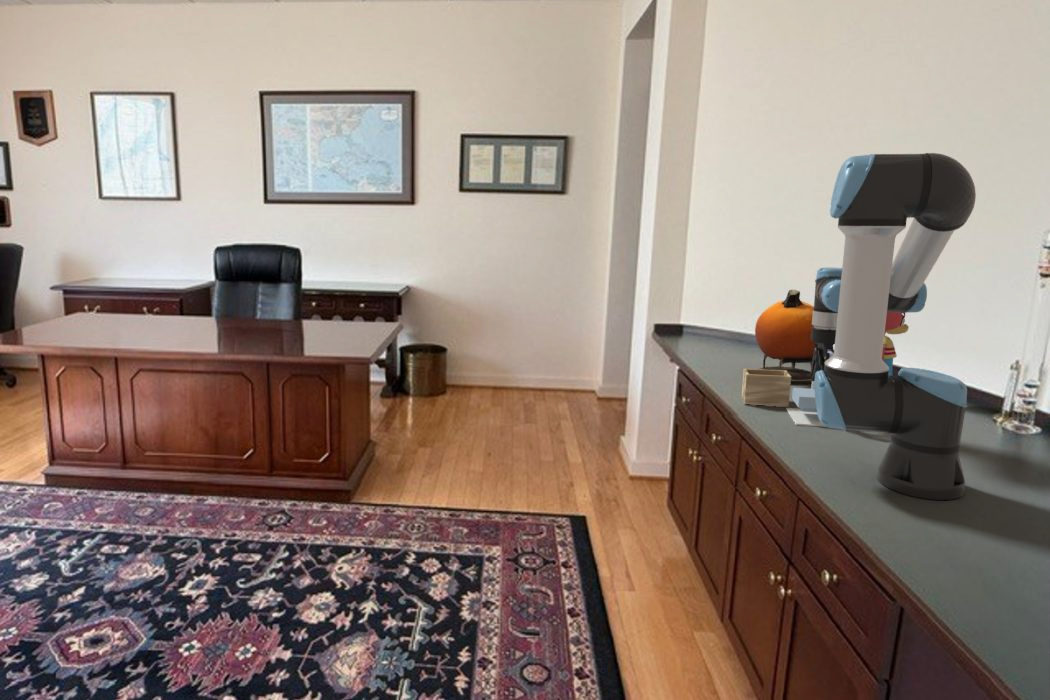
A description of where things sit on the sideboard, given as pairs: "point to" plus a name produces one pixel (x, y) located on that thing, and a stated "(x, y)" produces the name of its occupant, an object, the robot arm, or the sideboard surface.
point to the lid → (804, 399)
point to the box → (766, 387)
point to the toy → (892, 327)
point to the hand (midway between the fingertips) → (819, 409)
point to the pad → (804, 417)
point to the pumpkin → (787, 336)
